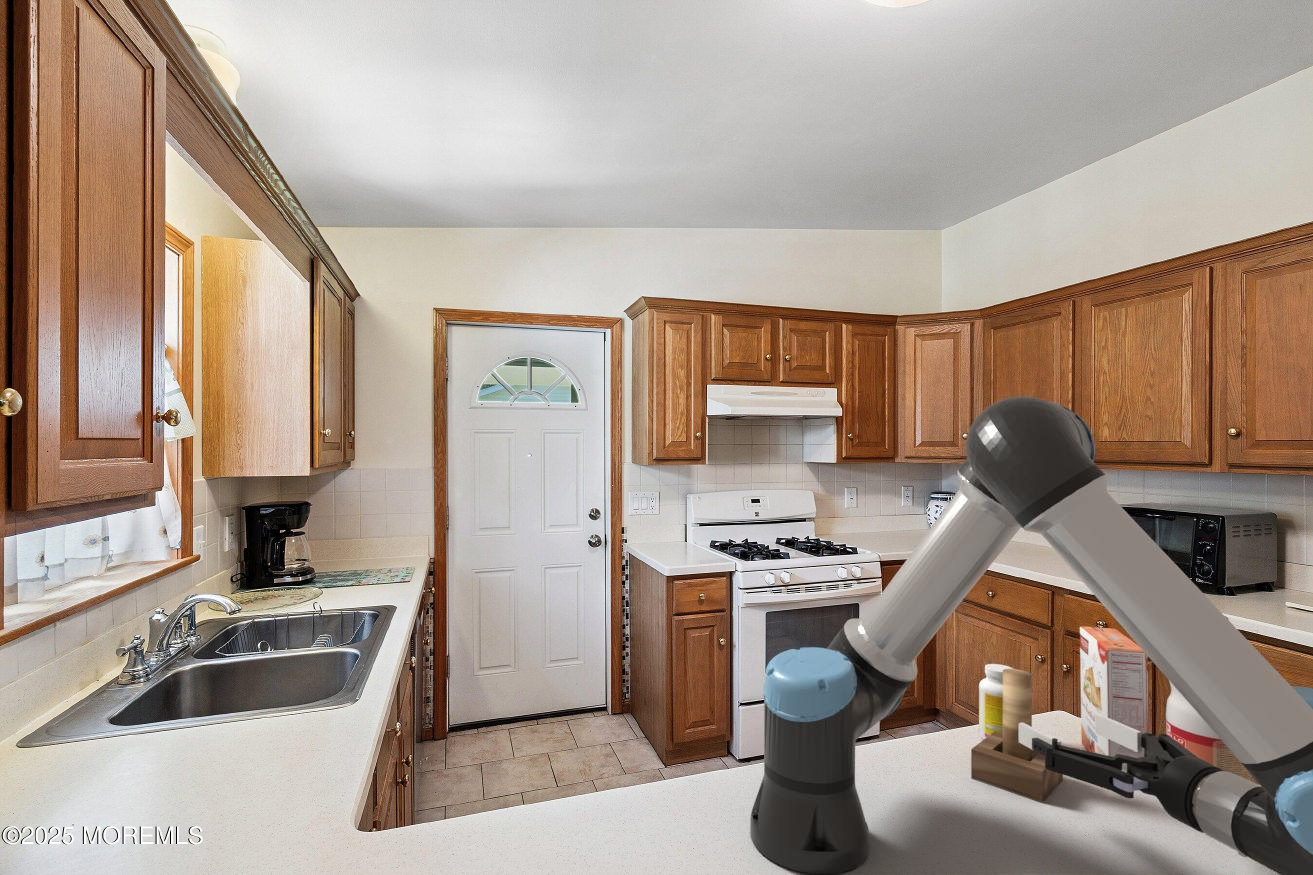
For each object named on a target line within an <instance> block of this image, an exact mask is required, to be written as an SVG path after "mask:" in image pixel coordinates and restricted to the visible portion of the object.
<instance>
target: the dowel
mask: <svg viewBox="0 0 1313 875" xmlns="http://www.w3.org/2000/svg"><path fill="white" fill-rule="evenodd" d="M1032 677H1033V676H1032V673H1031V672H1029V671H1026V670H1023V669H1017V668H1013V669H1004V670H1003V753H1004V754H1008V755H1011V756H1014V757H1017V758H1020V759H1024V760H1027V761H1032V749H1030V748H1028V747H1026V746H1025V745H1023V744H1021V743H1019V723H1025V724H1027V725H1029V726H1031V727H1033V721H1032V720H1033V718H1032V717H1033V712H1032V711H1033V710H1032V709H1033V708H1032V707H1033V706H1032V705H1033V703H1032V702H1033V688H1032V687H1033V686H1032V684H1033V680H1032V679H1033V678H1032Z"/></svg>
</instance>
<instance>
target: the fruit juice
mask: <svg viewBox="0 0 1313 875" xmlns="http://www.w3.org/2000/svg"><path fill="white" fill-rule="evenodd" d="M1224 616H1225V617H1226V618H1227V619H1228V620H1229V618H1228V617H1227V616H1226V615H1224ZM1229 621H1230V620H1229ZM1168 683H1169V685H1170V695H1169V696H1168V697H1167V700H1166V710H1165V721H1166V722H1165V723H1166V724H1165V726H1166V727H1165V731H1166V732H1165V734H1167V735H1169V736H1170V737H1172V738H1173V739H1174V740H1175V741H1177V742H1178V743H1179V744H1181V745H1182V746H1183V747H1185V748H1186V749H1187V750H1189V751H1190V752H1191V753H1193V754H1194V755H1195V756H1197V757H1198V758H1200V759H1202V760H1204V761H1206V762H1208V763H1210V764H1212V765H1213V766H1215V767H1218V768H1220V769H1222V770H1223V771H1227V772H1230V773H1233V774H1235V775H1237V776H1240V777H1242V778H1244V779H1247V780H1249V781H1251V782H1253V780H1252V778H1253V777H1252V776H1251V775H1250V773H1249V772H1248V771H1247V769H1246V768H1245V767H1244V766H1243V764H1242V763H1241V762H1240V761H1239V760H1238V758H1237V757H1236V756H1235V755H1234V754H1233V753H1232V752H1231V750H1230V749H1229V748H1228V747H1227V746H1226V745H1225V744H1224V742H1223V741H1222V740H1221V739H1220V738H1219V737H1218V736H1217V734H1216V733H1215V732H1214V731H1213V730H1212V729H1211V728H1210V726H1209V725H1208V724H1207V723H1206V722H1205V721H1204V720H1203V718H1202V717H1201V716H1200V715H1199V714H1198V713H1197V712H1196V710H1195V709H1194V708H1193V707H1192V706H1191V705H1190V704H1189V702H1188V701H1187V700H1186V699H1185V698H1184V697H1183V696H1182V694H1181V693H1180V692H1179V691H1178V690H1177V689H1176V688H1175V686H1174V685H1173V684H1172V683H1171V682H1170V681H1169V680H1168Z"/></svg>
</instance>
